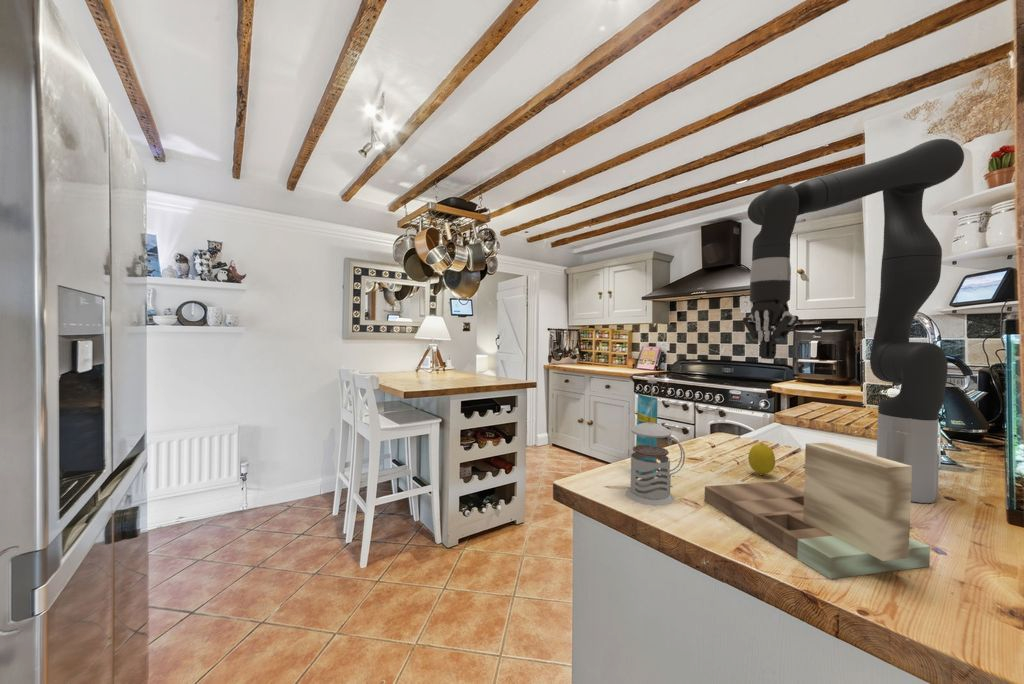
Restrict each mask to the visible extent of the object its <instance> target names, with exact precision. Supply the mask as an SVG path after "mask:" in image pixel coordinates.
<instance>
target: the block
mask: <svg viewBox="0 0 1024 684" xmlns="http://www.w3.org/2000/svg"><path fill="white" fill-rule="evenodd" d="M804 452H805V453H804V454H805V455H804V456H805V458H804V483H803V484H804V485H803V492H804V510H803V521H805V522H807V523H809V524H811V525H813V526H815V527H817V528H819V529H821V530H823V531H825V532H827V533H829V534H831V535H833V536H835V537H837V538H839V539H841V540H843V541H845V542H847V543H849V544H850V545H852V546H854V547H856V548H858V549H860V550H862V551H864V552H866V553H868V554H870V555H872V556H874V557H876V558H878V559H880V560H882V561H888V560H896V559H905V558H909V538H910V532H911V506H912V505H911V504H912V503H911V502H912V501H911V482H912V466H910V465H906V464H903V463H899V462H896V461H892V460H888V459H885V458H881V457H878V456H877V455H874V454H871V453H868V452H863V451H860V450H856V449H851V448H849V447H844V446H841V445H838V444H834V443H831V442H811V443H810V442H809V443H805V451H804Z"/></svg>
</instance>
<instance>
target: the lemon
mask: <svg viewBox="0 0 1024 684" xmlns="http://www.w3.org/2000/svg"><path fill="white" fill-rule="evenodd" d="M748 464H749V466H750V468H751V469H752V470H753V471H754V472H756V473H757V474H758V475H759V474H761V475H763V476H765V474H769V473H771V472H772V471H773V470H774V469H775V466H776V456H775V453H774V451H773V450H772V448H771V447H769V446H768V445H766V444H765V443H763V442H760V443H758V444H755V445H753V446H752V447H751V448H750V450H749V452H748ZM761 475H760V476H761Z"/></svg>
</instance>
